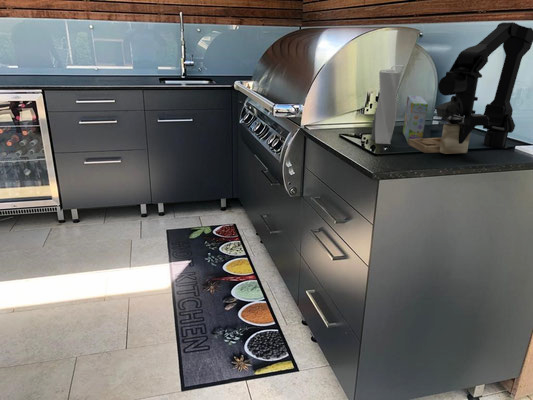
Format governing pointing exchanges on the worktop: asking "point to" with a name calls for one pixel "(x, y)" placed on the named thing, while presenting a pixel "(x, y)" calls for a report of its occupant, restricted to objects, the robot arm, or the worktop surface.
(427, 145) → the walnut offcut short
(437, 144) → the oak rack
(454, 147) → the birch panel
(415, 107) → the snack box
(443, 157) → the worktop surface
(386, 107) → the skyscraper
